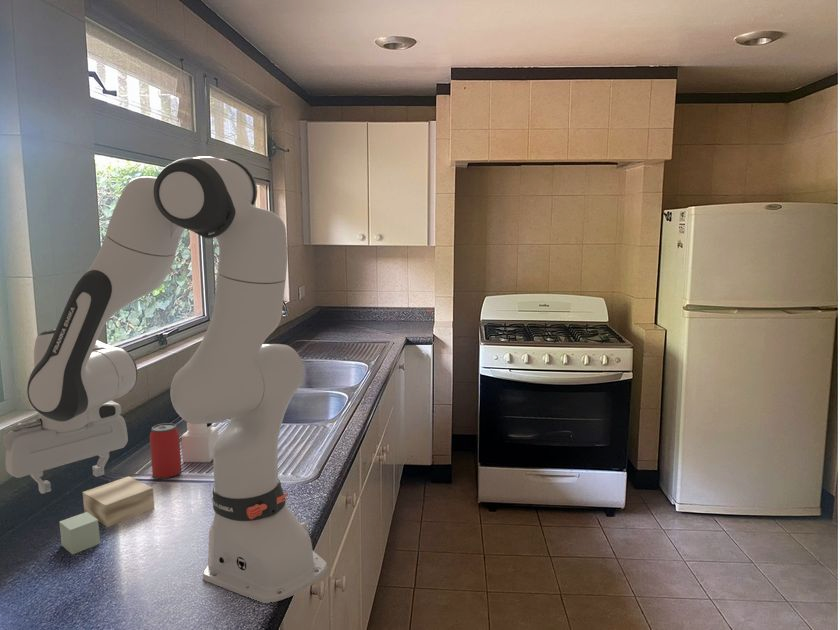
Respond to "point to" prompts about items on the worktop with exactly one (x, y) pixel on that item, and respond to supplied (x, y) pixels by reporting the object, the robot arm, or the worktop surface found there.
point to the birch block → (118, 500)
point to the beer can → (165, 450)
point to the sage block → (79, 532)
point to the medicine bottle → (199, 442)
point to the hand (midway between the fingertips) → (72, 483)
